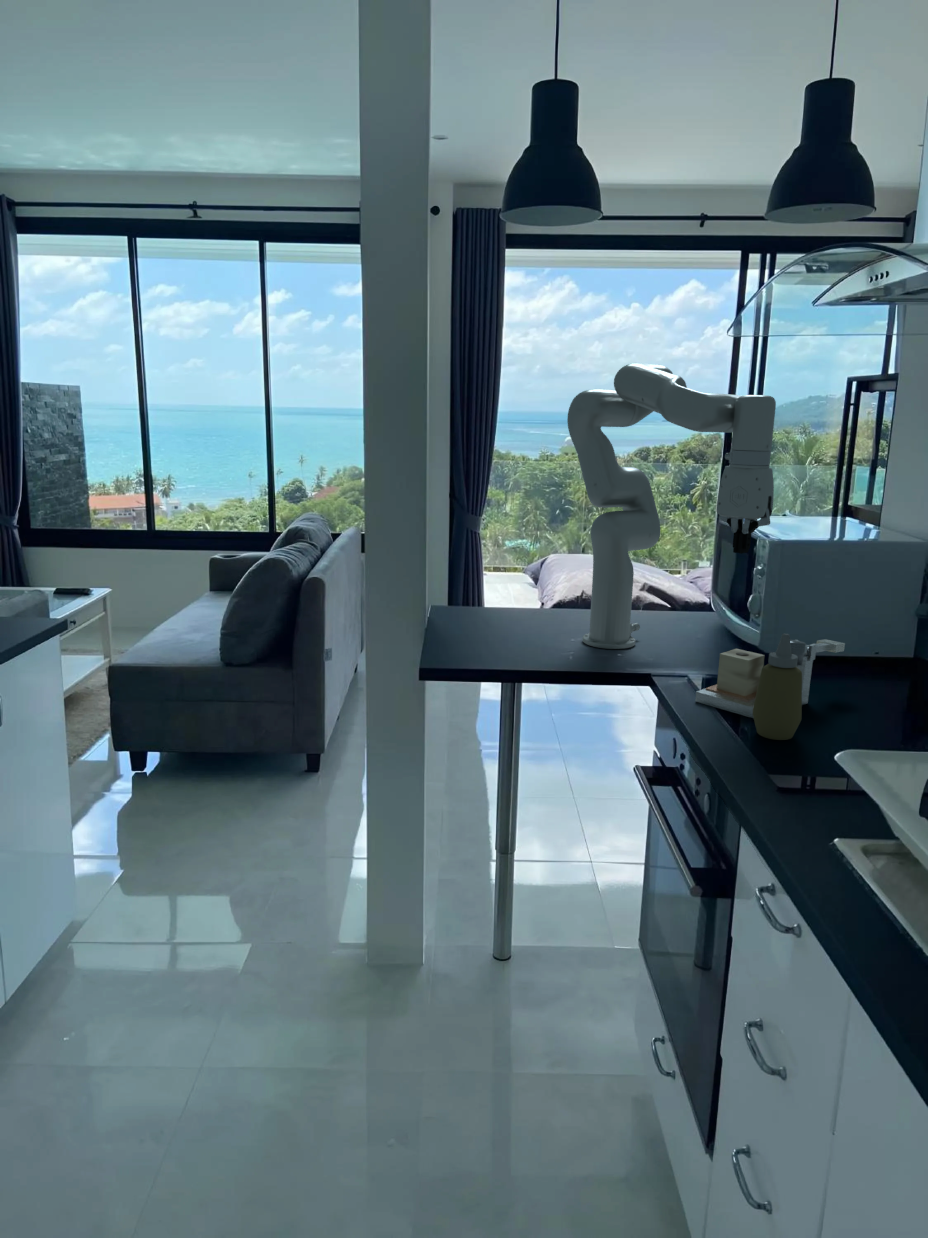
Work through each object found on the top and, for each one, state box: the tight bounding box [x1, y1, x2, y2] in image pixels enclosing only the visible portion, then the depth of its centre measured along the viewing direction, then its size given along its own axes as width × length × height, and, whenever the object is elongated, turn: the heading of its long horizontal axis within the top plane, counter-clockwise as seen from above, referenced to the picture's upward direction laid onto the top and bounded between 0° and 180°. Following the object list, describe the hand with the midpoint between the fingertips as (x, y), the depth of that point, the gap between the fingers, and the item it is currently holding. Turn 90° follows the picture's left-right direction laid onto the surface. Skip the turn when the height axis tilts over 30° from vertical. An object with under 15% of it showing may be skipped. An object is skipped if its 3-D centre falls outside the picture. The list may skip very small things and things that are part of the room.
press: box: [694, 639, 817, 719], centre depth 166 cm, size 16×15×12 cm
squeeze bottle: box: [753, 633, 803, 741], centre depth 148 cm, size 8×8×18 cm
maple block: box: [716, 648, 766, 696], centre depth 167 cm, size 6×6×7 cm
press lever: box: [790, 638, 846, 665], centre depth 168 cm, size 21×4×4 cm, turn 133°
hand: (740, 552), depth 174 cm, fingers closed
